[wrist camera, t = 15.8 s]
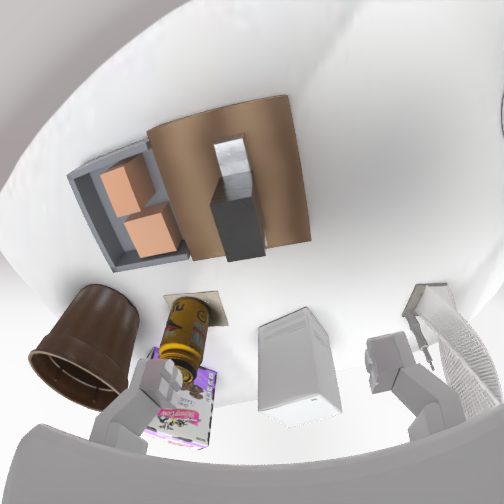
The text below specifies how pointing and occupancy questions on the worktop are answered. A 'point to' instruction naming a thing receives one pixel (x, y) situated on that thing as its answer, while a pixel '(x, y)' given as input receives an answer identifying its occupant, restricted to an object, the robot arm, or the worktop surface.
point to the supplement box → (296, 371)
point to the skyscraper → (455, 348)
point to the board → (208, 173)
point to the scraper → (238, 202)
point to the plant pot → (89, 348)
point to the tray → (104, 217)
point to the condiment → (190, 330)
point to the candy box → (186, 413)
